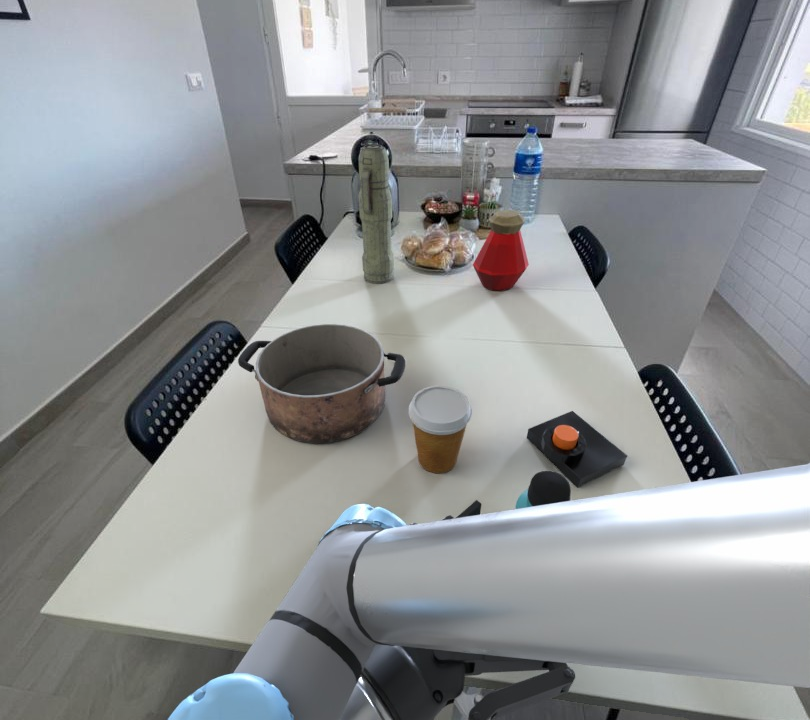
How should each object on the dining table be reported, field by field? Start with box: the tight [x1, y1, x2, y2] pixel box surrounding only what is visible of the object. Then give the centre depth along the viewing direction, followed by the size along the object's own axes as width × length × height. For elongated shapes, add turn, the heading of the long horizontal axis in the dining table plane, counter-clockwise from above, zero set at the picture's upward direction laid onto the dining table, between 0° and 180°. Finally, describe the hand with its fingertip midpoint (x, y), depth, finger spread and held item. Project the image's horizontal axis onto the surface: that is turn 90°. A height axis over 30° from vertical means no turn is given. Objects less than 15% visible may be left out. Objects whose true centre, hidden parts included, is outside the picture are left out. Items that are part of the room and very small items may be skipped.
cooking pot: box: [237, 323, 406, 444], centre depth 82 cm, size 30×22×11 cm
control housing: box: [526, 410, 628, 489], centre depth 73 cm, size 12×11×4 cm
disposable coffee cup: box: [407, 384, 473, 474], centre depth 70 cm, size 10×10×12 cm
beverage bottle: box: [515, 470, 572, 509], centre depth 50 cm, size 6×7×20 cm
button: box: [552, 425, 578, 450], centre depth 71 cm, size 4×4×2 cm
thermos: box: [358, 143, 395, 285], centre depth 120 cm, size 9×12×35 cm
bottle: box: [472, 209, 529, 292], centre depth 120 cm, size 16×14×20 cm
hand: (526, 547), depth 49 cm, fingers open, 13 cm apart
